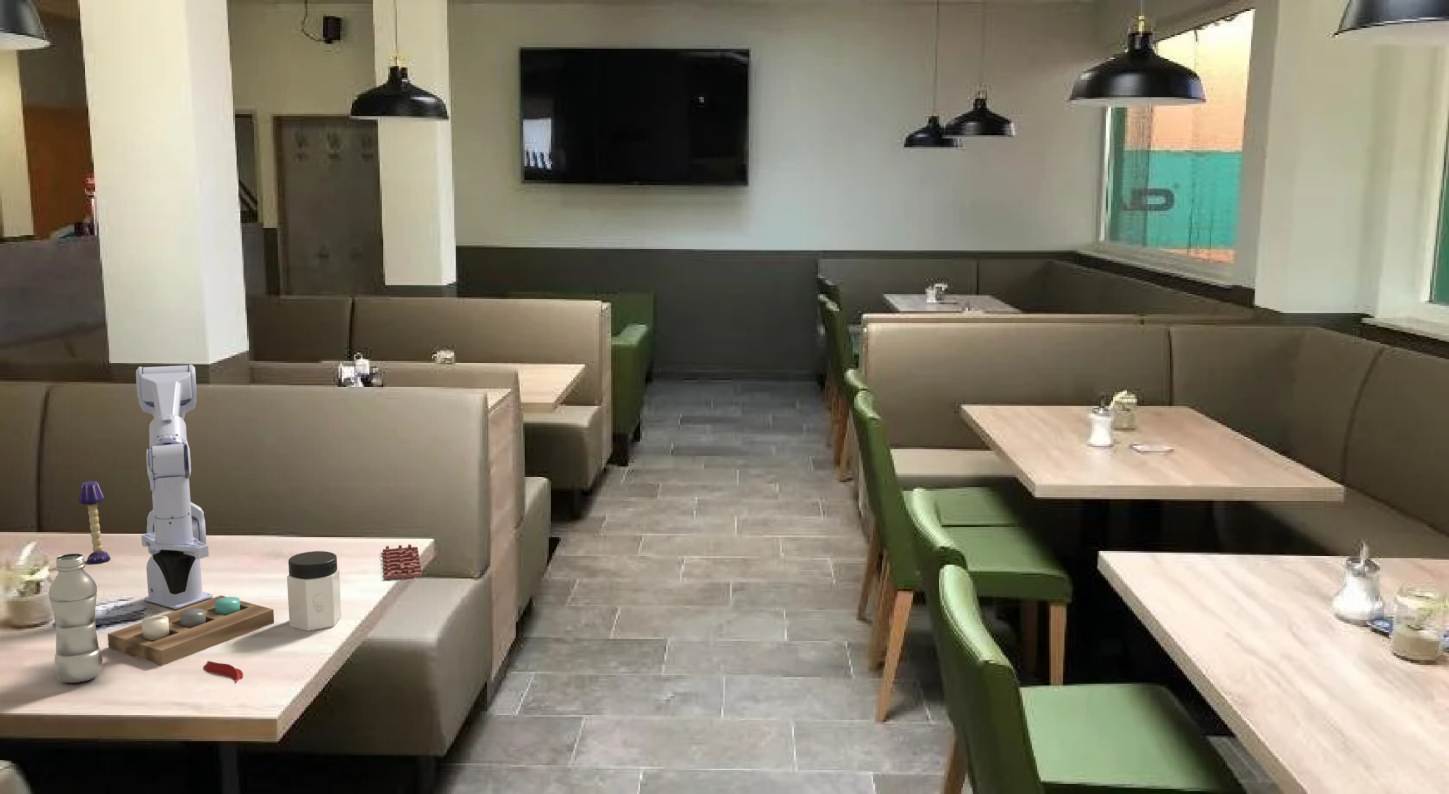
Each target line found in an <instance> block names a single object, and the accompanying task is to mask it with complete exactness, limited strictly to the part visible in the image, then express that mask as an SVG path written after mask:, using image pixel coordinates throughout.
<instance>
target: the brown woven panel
mask: <svg viewBox="0 0 1449 794" xmlns="http://www.w3.org/2000/svg"><path fill="white" fill-rule="evenodd" d="M402 545H403V544H398V547H396V548H390V545H385V548H382V560H383V563H384V565H383V577H384V581H391V580H390V579H393V580H403V581H404V580H406V579H413V578H414V579H417V578H423V573H422V568H421V567H422V566H421V561H420V553H419V547H418V546H412V543H409V544H407V546H405V547H403V546H402ZM383 563H382V564H383Z"/></svg>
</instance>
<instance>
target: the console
mask: <svg viewBox="0 0 1449 794" xmlns="http://www.w3.org/2000/svg"><path fill="white" fill-rule="evenodd" d="M224 597H226V596H225V595H221V594H220V595H218V596H215V597H211V598H208V599H205V600H202V601H200V602H197V603H194V604H191V605H188V606H185V607H182V608H179V609H175V610H174V611H171V612H168V613H165V614H162V615H160V616H166V617H168V620H169V636H168V637H165V638H162V639H159V640H151V641H150V640H144V639H143V632H142V621H141V622H138V623H136V624H133V625H129V626H126V627H123V628H121V629H117V630H115V631H112V632H111V631H110V632H108V633H107V643H108V649H111V650H114V651H118V652H119V653H123V654H126V655H129V656H131V657H132V656H133V657H135V658H139V659H142V660H145V661H148V662H151V663H154V664H157V665H161V666H164V665H168V664H169V663H173V662H175V661H177V660H180V659H182V658H185V657H189V656H191V655H194V654H196V653H199V652H202V651H203V650H206V649H208V648H212V647H214V646H217V645H220V644H223V643H225V642H228V641H230V640H233V639H235V638H238V637H241V636H244V635H246V634H248V633H251V632H254V631H256V630H259V629H262V628H264V627H267V626H269V625H272V624H275V614H274V609H273V608H269V607H266V606H262V605H259V604H255V603H251V602H247V601H243V600H240V611H237V612H235V613H232V614H229V615H226V616H224V615H220V614H217V613H216V610H215V601H216V600H218V599H220V598H224ZM188 609H204V610H205V616H206V623H204V624H201V625H198V626H196V627H193V628H190V629H189V628H186V627H183V626H180V613H181V612H182V611H185V610H188Z"/></svg>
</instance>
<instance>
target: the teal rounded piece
mask: <svg viewBox="0 0 1449 794" xmlns="http://www.w3.org/2000/svg"><path fill="white" fill-rule="evenodd" d="M240 601H241V600H240V598H239V597H237V596H225V597H224V598H220V599H218V600H216V601H215V610H216V613H217V614H220V615H224V616H226V615H229V614H232V613H235V612H237V611H240Z"/></svg>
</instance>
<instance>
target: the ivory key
mask: <svg viewBox="0 0 1449 794" xmlns="http://www.w3.org/2000/svg"><path fill="white" fill-rule="evenodd" d="M141 622H142V632H143V639H144V640H150V641H151V640H159V639H162V638H165V637H168V636H169V620H168V617H166V616H161V615H154V616H149V617H146V618H144V619H142V621H141Z"/></svg>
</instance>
